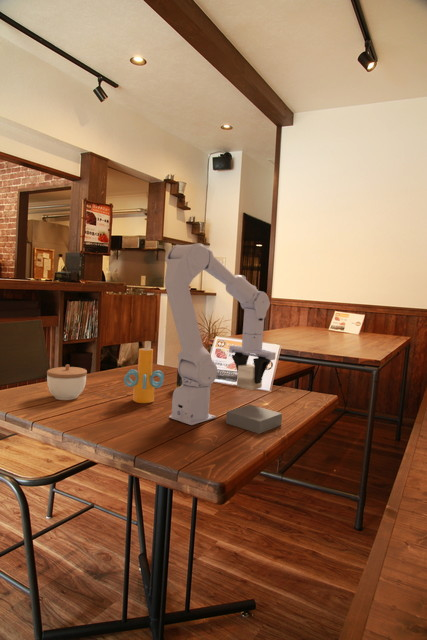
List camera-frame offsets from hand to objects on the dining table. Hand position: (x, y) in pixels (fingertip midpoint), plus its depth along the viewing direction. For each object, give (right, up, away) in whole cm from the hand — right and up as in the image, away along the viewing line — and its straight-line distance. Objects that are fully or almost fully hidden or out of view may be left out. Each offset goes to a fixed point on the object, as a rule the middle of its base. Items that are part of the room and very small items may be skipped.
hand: (249, 381), depth 118 cm
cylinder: (-30, -6, +2) cm, 31 cm away
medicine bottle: (-18, -6, +20) cm, 28 cm away
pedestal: (0, -9, -13) cm, 16 cm away
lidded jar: (-52, -5, +1) cm, 52 cm away
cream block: (0, -2, 0) cm, 2 cm away
